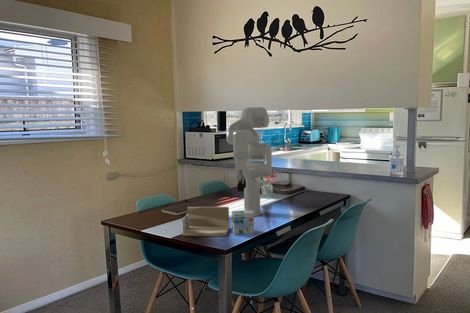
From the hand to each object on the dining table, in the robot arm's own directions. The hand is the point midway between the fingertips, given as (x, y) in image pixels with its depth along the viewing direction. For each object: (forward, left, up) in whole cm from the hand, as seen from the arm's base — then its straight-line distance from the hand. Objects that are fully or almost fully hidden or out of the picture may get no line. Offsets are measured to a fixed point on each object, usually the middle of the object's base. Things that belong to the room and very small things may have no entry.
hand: (241, 189), depth 207 cm
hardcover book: (-47, -43, -23) cm, 68 cm away
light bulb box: (0, 0, -22) cm, 22 cm away
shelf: (0, -19, -22) cm, 29 cm away
